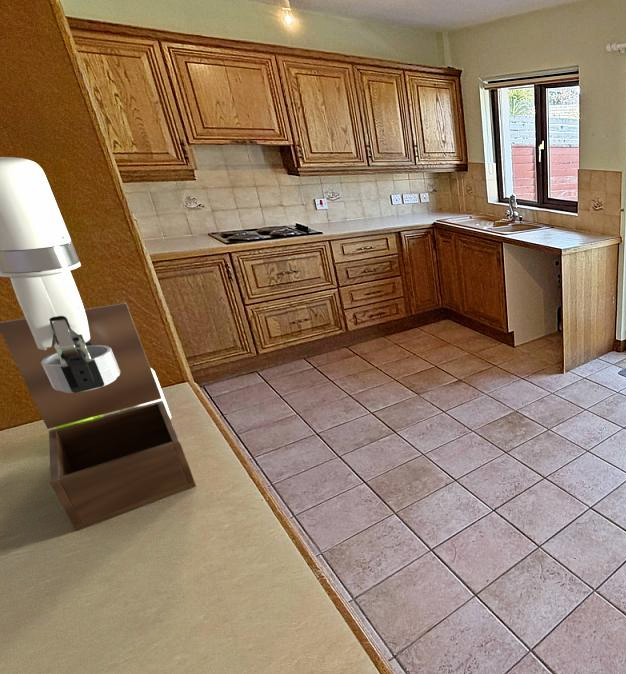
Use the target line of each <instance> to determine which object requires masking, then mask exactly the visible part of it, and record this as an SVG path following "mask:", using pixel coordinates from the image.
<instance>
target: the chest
mask: <svg viewBox="0 0 626 674" xmlns="http://www.w3.org/2000/svg"><path fill="white" fill-rule="evenodd" d="M48 441H49V442H48V444H49V446H48V447H49V483H50V485H51V487H52V489H53V490H54V493H55V494H56V496H57V498H58V500H59V503H60V504H61V505H62V507H63V509H64V511H65V514H66V515H67V518H68V519H69V521H70V523H71V525H72V527H73V529H74V530H75V532H77V531H81V530H83V529H85V528H88V527H91V526H93V525H96V524H99V523H101V522H104V521H106V520H110V519H112V518H115V517H117V516H120V515H123V514H125V513H128V512H131V511H133V510H136V509H139V508H141V507H144V506H147V505H150V504H152V503H155V502H157V501H160V500H163V499H165V498H169V497H171V496H174V495H176V494H179V493H181V492H184V491H187V490H189V489H192V488H195V487H197V485H196V481H195V479H194V476H193V474H192V471H191V468H190V466H189V462H188V460H187V457H186V454H185V452H184V449H183V447H182V444H181V441H180V439H179V436H178V434H177V432H176V429H175V427H174V425H173V421H172V418H171V419H170V417H169V415H168V412H167V410H166V407H165V405H164V402H163V401H159V402H155V403H151V404H147V405H144V406H140V407H136V408H132V409H129V410H125V411H121V412H119V411H116V412H114V413H110V414H106V415H103V417H99V418H95V419H91V420H88V421H84V422H80V423H76V424H73V425H69V426H65V427H61V428H58V429H56V428H53V429H49V430H48Z"/></svg>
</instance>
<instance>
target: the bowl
mask: <svg viewBox="0 0 626 674" xmlns="http://www.w3.org/2000/svg"><path fill="white" fill-rule="evenodd" d="M86 347H87V349H88V352H89V354H90V357H91V360H95V362H96V364H97V367H98V369H99V372H100V374H101V376H102V379H103V381H104V386H105V385H108V384H110V383H112V382H113V381H115V380H116V379H117V377H118V376H119V375H120V369H119V367H118V364H117V362H116V359H115V357H114V354H113V352H112V349H111V348H110V347H108V346H104V345H90V346H86ZM76 348H77V349H80V350H81V347H76ZM81 351H82V350H81ZM83 356H84V355H83ZM41 364H42V366H43V368H44V370H45V372H46V374H47V376H48V379H49V381H50V383H51V385H52V387H53V388H54V389H55V390H57V391H62V392H65V393H74V392H72V391H71V389H70V387H69V384H68V382H67V380H66V378H65V376H64V373H63V371H62V369H61V366H62V364H61V362H60V359H59V357H58V354H57V353H54V354H51V355H49V356H47V357H46V358H44V359H43V360H42V362H41ZM102 387H103V386H102ZM98 388H100V387H98ZM94 389H97V388H94ZM90 390H93V389H90ZM86 391H89V390H86ZM81 392H84V391H81Z"/></svg>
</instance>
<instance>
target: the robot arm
mask: <svg viewBox="0 0 626 674" xmlns="http://www.w3.org/2000/svg"><path fill="white" fill-rule="evenodd" d="M81 266H82V264H81V262H80V259H79V256H78V254H77V251H76V248H75V246H74V244H73V241H72V238H71V236H70V234H69V231H68V229H67V226H66V224H65V220H64V219H63V216H62V214H61V211H60V209H59V207H58V203H57V201H56V198H55V196H54V194H53V191H52V189H51V186H50V183H49V181H48V179H47V176H46V173H45V172H44V170H43V168H42V167H41V166H40V165H39V164H38V163H37V162H35V161H33V160H31V159H27V158H23V157H13V156H11V157H10V156H0V277H2V278H9V279H10V282H11V286H12V288H13V291H14V294H15V297H16V300H17V302H18V305H19V306H20V309H21V311H22V313H23V316H24V318H26V320H27V323H28V325H29V327H30V330H31V332H32V335H33V337H34V339H35V342H36V344H37V347H38V349H41V350H47V348H48V347H51V345H52V341H53V344H54V348H55V349H56V352H57V354H58V357H59V359H60V362H61V364H62V366H61V369H62V371H63V373H64V376H65V378H66V380H67V382H68V384H69V387H70V389H71V391H72V392H74V393H77V392H81V391H86V390H90V389H94V388H98V387H102V386H104V381H103V379H102V376H101V374H100V372H99V369H98V367H97V364H96V362H95V360H91V357H90V354H89V352H88V349H87V347H86V346H90V345H92V343H91V342H89V340H90V333H89V326H88V321H87V317H86V313H85V310H84V309H85V307H84V304H83V300H82V298H81V295H80V292H79V290H78V287H77V285H76V282H75V279H74V277H73V274H72V272H71V271H72V270H73V271H74V270H77V268H80V267H81ZM57 340H58V341H57ZM58 342H59V343H58ZM86 342H89V343H86ZM76 347H81V350H82V351H81V350H80V349H77V348H76ZM83 355H84V356H83Z"/></svg>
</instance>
